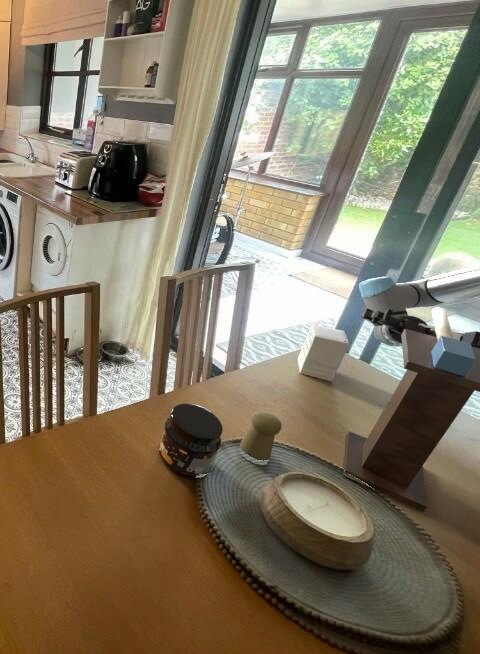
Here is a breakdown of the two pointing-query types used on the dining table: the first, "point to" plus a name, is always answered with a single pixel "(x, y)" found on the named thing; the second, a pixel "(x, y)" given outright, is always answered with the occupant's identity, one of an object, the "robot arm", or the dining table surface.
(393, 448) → the stand
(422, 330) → the robot arm
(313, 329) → the white packaging box
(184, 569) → the dining table surface
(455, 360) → the bottle brush
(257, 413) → the cork
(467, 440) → the dining table surface
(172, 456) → the supplement container
